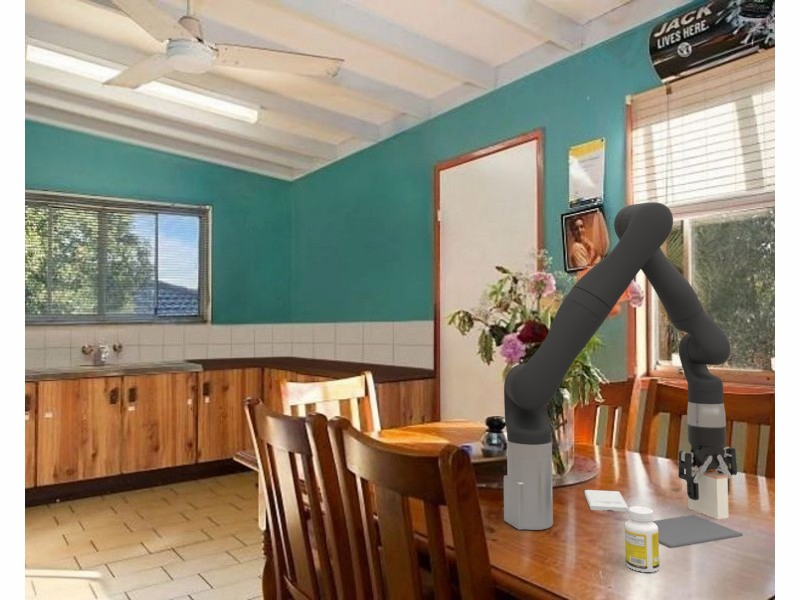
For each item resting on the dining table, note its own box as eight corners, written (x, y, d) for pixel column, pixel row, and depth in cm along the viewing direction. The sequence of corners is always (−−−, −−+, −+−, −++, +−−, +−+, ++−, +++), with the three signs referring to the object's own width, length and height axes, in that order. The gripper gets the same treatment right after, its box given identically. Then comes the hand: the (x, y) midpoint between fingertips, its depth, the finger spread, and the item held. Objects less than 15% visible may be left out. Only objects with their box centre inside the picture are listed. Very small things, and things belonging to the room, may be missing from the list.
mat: (670, 547, 111) (670, 545, 111) (625, 527, 123) (625, 525, 123) (742, 535, 118) (742, 533, 118) (693, 516, 129) (693, 514, 129)
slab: (717, 519, 127) (716, 476, 127) (688, 508, 135) (687, 468, 135) (728, 517, 128) (727, 475, 128) (698, 506, 136) (697, 466, 136)
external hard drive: (619, 498, 145) (629, 514, 132) (584, 496, 146) (590, 512, 134) (619, 491, 145) (629, 507, 132) (584, 489, 146) (590, 505, 134)
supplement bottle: (650, 560, 106) (649, 504, 106) (665, 573, 100) (664, 514, 101) (620, 561, 106) (619, 505, 106) (633, 574, 100) (632, 515, 101)
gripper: (694, 428, 126) (697, 505, 125) (745, 423, 131) (748, 498, 130) (668, 422, 133) (670, 496, 133) (716, 418, 138) (719, 489, 137)
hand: (708, 497), depth 131 cm, fingers open, 8 cm apart
